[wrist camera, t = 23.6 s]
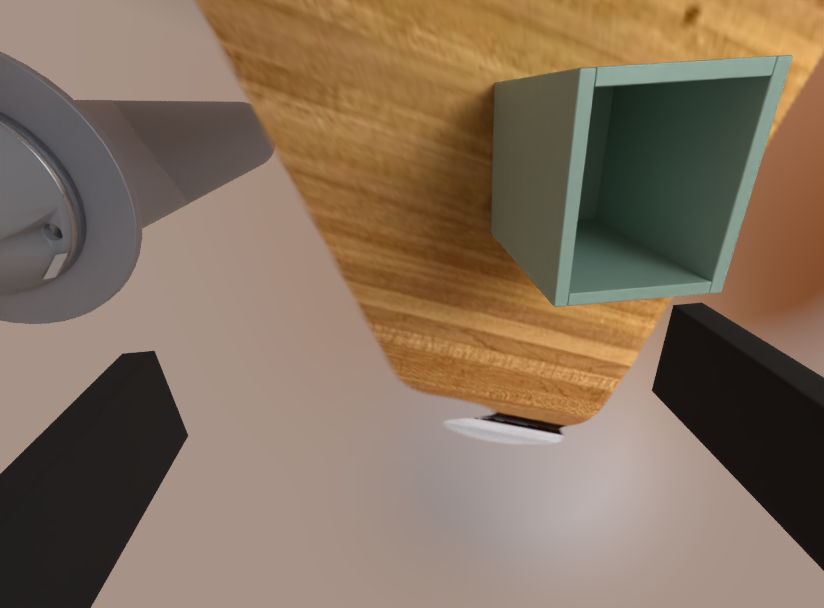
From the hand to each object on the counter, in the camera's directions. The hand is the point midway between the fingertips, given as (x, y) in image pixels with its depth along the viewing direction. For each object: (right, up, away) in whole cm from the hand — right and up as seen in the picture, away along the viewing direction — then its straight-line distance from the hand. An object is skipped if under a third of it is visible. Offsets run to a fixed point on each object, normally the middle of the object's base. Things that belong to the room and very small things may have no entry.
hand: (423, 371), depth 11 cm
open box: (+12, +11, +17) cm, 23 cm away
